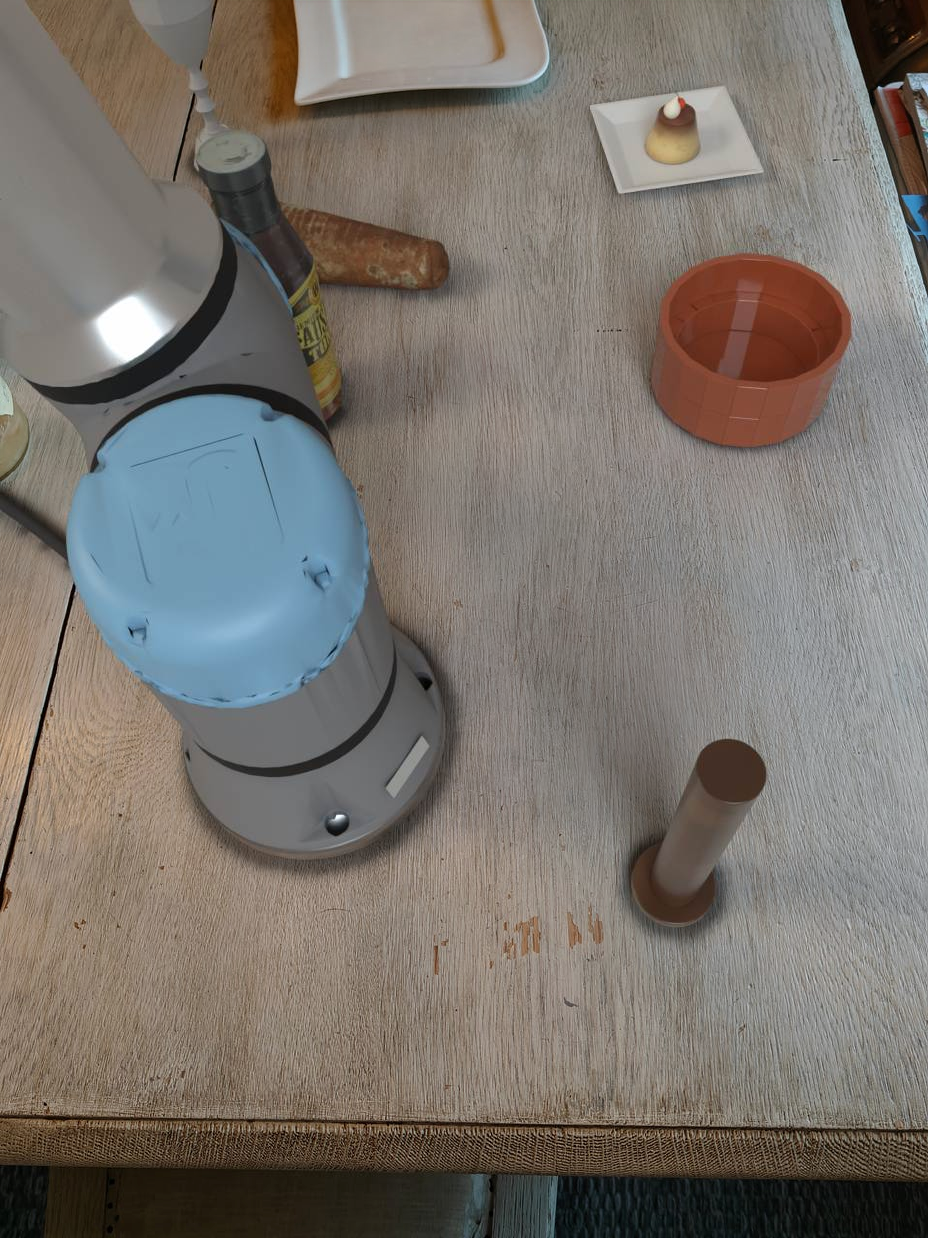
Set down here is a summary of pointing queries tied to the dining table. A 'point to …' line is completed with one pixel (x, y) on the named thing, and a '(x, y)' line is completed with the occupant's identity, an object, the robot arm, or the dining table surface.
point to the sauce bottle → (273, 245)
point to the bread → (367, 252)
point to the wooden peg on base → (698, 834)
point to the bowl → (748, 348)
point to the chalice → (184, 47)
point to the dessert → (674, 139)
